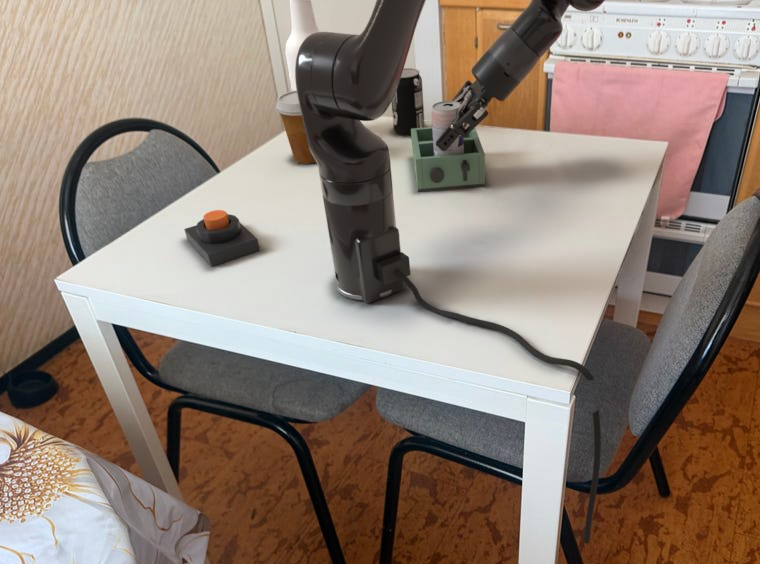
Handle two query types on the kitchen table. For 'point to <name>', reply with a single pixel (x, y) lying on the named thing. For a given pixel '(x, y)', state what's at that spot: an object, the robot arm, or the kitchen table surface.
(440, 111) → the energy drink
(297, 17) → the alcohol
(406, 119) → the beverage can
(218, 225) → the button
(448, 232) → the kitchen table surface
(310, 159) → the disposable coffee cup
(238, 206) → the kitchen table surface
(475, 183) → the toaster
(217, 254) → the control box
